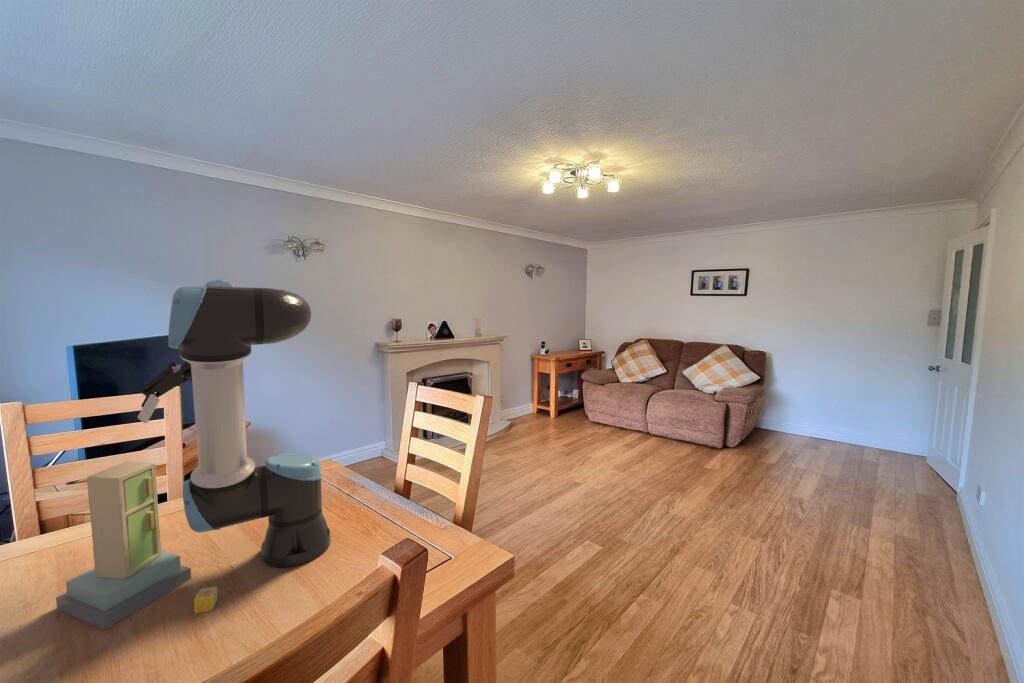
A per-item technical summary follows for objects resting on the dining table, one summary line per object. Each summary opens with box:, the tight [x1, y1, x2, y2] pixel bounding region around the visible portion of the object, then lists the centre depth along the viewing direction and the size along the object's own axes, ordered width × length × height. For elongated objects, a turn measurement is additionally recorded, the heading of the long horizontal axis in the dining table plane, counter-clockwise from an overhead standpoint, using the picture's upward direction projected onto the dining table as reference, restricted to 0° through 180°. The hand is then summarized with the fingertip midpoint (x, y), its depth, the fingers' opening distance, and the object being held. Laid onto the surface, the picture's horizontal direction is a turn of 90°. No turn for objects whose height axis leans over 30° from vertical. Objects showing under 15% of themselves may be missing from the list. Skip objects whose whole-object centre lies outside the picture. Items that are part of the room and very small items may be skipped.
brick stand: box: [55, 549, 192, 630], centre depth 84 cm, size 15×15×6 cm
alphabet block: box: [193, 586, 218, 614], centre depth 81 cm, size 3×3×3 cm
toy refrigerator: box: [86, 461, 162, 579], centre depth 84 cm, size 8×7×21 cm
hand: (173, 420), depth 99 cm, fingers open, 13 cm apart
